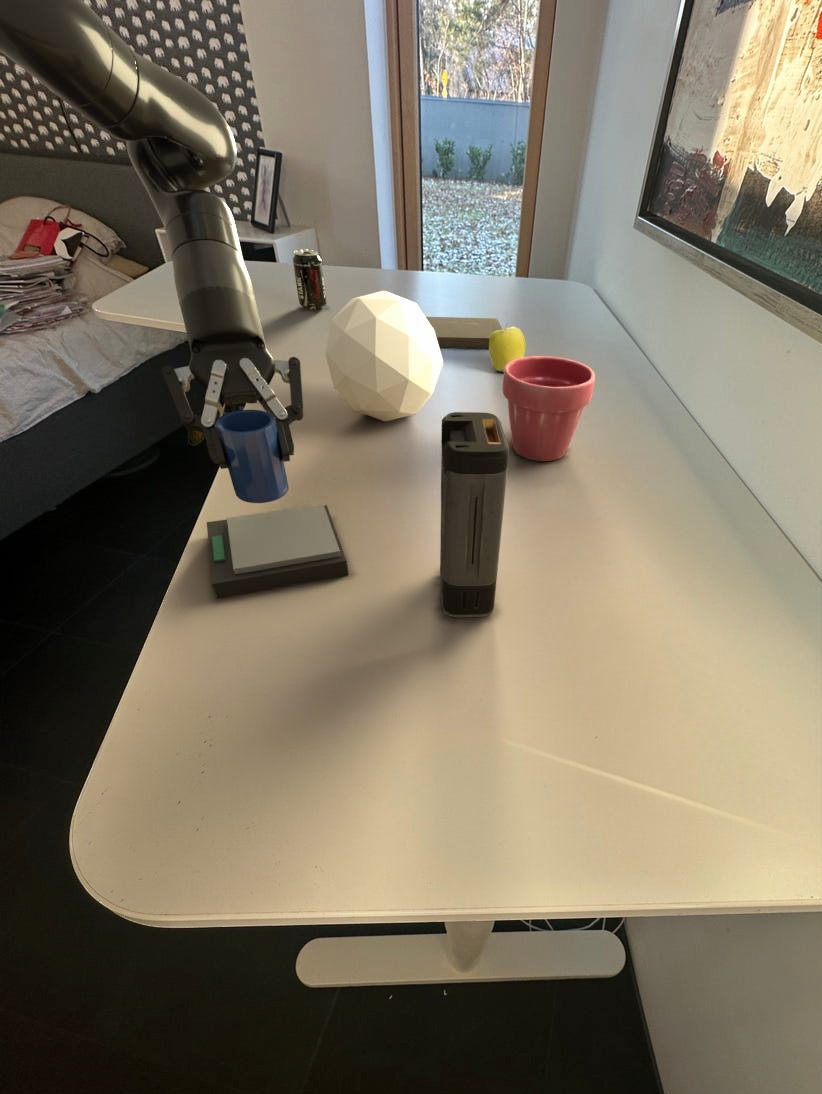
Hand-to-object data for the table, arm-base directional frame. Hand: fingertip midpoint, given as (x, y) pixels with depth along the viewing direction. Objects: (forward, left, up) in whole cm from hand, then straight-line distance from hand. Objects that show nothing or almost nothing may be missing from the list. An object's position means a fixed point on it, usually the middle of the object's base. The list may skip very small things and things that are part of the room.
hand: (255, 462), depth 60 cm
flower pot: (+45, +20, -14) cm, 51 cm away
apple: (+54, +56, -14) cm, 79 cm away
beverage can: (+22, +108, -14) cm, 111 cm away
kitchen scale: (0, +2, -13) cm, 13 cm away
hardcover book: (+50, +78, -14) cm, 93 cm away
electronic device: (+20, -12, -14) cm, 27 cm away
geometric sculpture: (+24, +40, -14) cm, 48 cm away
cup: (0, +2, -4) cm, 5 cm away
